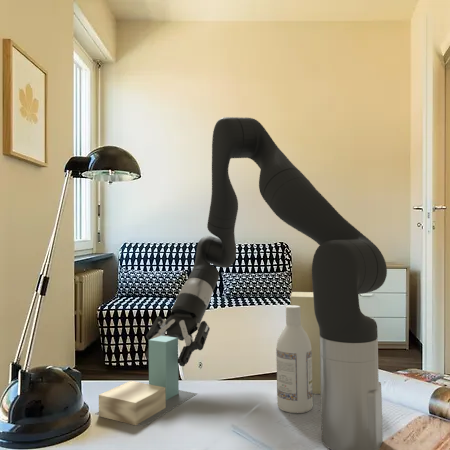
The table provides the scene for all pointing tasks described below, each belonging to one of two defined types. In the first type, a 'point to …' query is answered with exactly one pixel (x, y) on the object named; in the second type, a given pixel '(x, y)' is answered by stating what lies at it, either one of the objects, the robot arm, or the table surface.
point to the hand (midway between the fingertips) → (164, 361)
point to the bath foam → (294, 365)
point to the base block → (132, 402)
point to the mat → (169, 405)
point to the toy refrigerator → (310, 332)
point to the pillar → (164, 364)
